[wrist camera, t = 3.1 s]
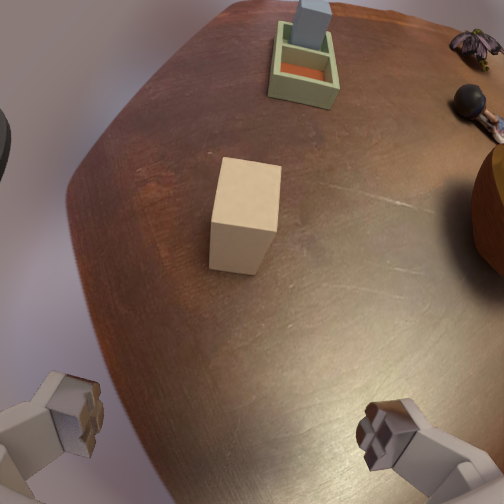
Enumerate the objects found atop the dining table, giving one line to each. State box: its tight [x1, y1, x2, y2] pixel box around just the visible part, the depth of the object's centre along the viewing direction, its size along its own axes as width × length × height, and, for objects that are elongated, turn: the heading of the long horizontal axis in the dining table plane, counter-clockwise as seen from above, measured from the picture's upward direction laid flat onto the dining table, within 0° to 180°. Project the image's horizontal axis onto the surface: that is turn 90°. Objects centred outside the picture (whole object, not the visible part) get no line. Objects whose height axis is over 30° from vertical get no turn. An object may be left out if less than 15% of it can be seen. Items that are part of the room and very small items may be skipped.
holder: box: [268, 21, 340, 110], centre depth 38 cm, size 8×15×4 cm, turn 174°
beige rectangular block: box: [209, 157, 281, 275], centre depth 24 cm, size 4×5×9 cm
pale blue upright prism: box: [288, 0, 332, 51], centre depth 36 cm, size 4×5×9 cm
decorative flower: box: [450, 29, 504, 72], centre depth 52 cm, size 14×12×15 cm
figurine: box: [454, 84, 504, 144], centre depth 41 cm, size 8×7×18 cm
